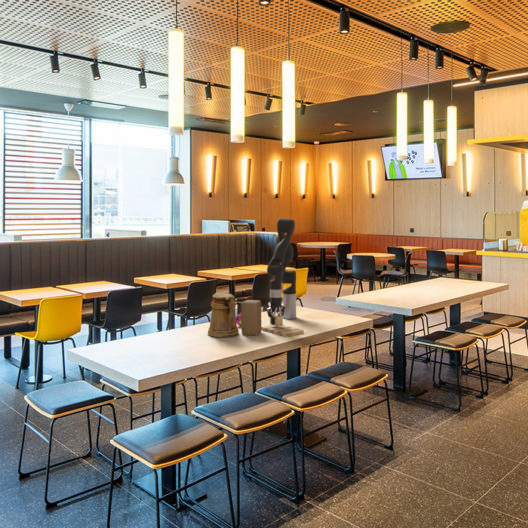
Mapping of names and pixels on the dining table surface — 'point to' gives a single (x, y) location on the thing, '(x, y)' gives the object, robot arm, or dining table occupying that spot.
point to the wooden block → (251, 317)
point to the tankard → (223, 316)
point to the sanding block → (277, 320)
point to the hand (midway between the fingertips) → (276, 323)
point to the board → (282, 330)
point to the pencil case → (238, 319)
